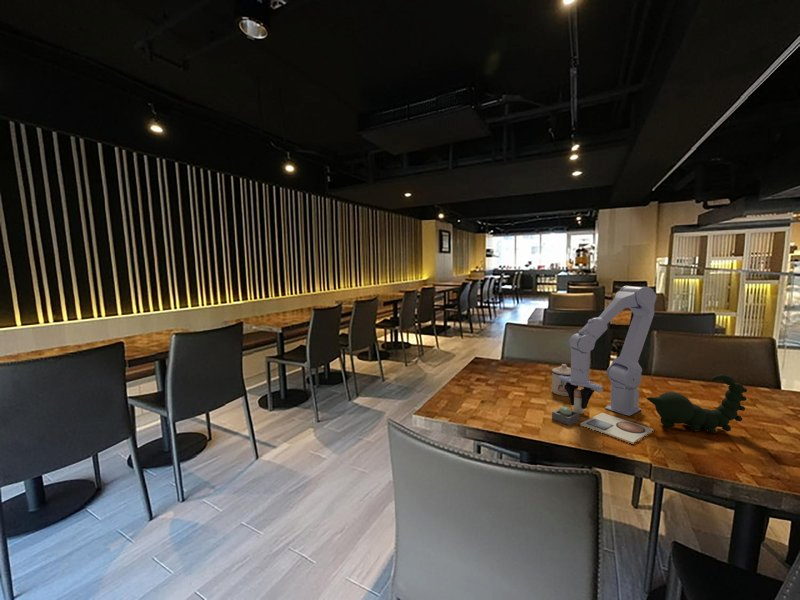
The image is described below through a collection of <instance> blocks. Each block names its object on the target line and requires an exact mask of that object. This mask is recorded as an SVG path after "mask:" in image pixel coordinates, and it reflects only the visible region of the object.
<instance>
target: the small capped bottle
mask: <svg viewBox="0 0 800 600" xmlns="http://www.w3.org/2000/svg"><path fill="white" fill-rule="evenodd" d="M581 389H582V388H580V387H578V388H575V389H574V405H573V412H576V413H579V415H581V414H584V412H585V409H582V406H581V405H582V397H581V392H580V390H581Z"/></svg>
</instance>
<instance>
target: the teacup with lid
mask: <svg viewBox="0 0 800 600" xmlns="http://www.w3.org/2000/svg"><path fill="white" fill-rule="evenodd" d="M561 375H562V376H567V377H571V367H568V366H567V364H566V363H562V364H561V365H559V366H558V367H554V368H552V369H551V392H552V393H553V394H555V395H559V396H562V397H569V395H568V393H567V391H566V389H565V387H564V386H565V385H566V383H565V382H559V381H558V377H559V376H561Z"/></svg>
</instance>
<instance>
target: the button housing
mask: <svg viewBox="0 0 800 600" xmlns="http://www.w3.org/2000/svg"><path fill="white" fill-rule="evenodd" d="M551 420H553V421H555V420H556V421H555V422H558V423H560V422H561V424H563V423H564V425H566V426H568V425H570V426H572V425H574V424H575V423H578V422H580V414H579V413H576V412H574V410H572V415H571V416H569V417H568V416H565V415H562V414H560V408H558V409H556V410H553V411H551ZM571 424H572V425H571Z"/></svg>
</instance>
